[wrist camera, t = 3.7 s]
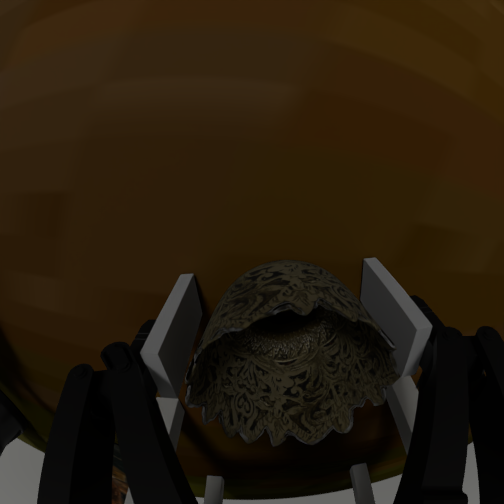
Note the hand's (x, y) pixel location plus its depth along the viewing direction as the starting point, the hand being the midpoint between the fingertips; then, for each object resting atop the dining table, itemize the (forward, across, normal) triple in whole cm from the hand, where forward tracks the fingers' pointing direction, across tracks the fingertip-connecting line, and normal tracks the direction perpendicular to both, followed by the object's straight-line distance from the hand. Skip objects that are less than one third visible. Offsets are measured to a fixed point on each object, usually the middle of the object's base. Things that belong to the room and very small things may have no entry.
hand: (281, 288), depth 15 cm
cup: (0, 0, 0) cm, 0 cm away
